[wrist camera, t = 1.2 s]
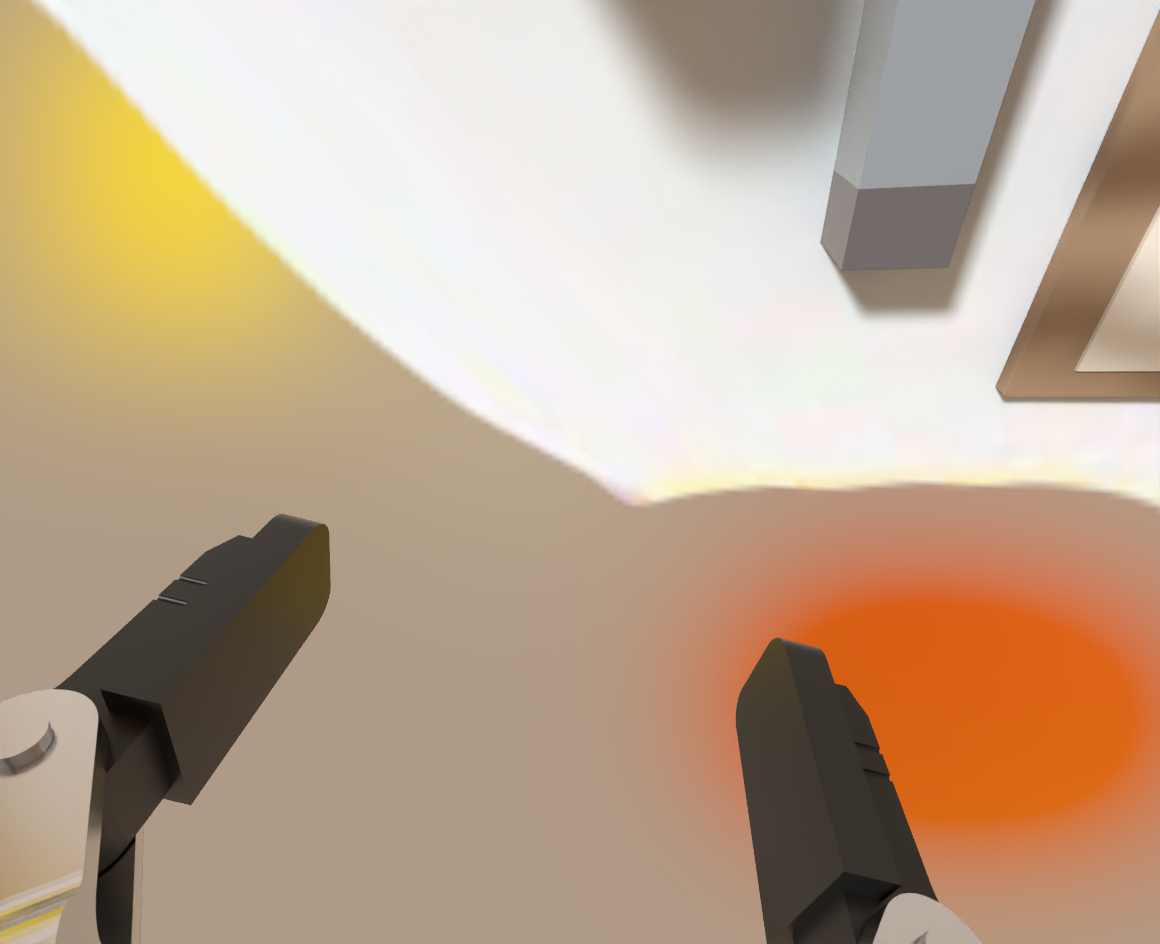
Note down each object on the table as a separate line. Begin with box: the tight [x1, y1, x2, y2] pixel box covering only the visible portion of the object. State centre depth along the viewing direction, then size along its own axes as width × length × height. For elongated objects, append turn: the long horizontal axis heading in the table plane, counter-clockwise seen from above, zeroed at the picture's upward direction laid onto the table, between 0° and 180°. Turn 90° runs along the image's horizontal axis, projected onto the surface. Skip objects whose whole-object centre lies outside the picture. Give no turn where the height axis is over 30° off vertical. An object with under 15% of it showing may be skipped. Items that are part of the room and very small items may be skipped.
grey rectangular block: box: [821, 0, 1035, 271], centre depth 20 cm, size 13×4×4 cm, turn 4°
